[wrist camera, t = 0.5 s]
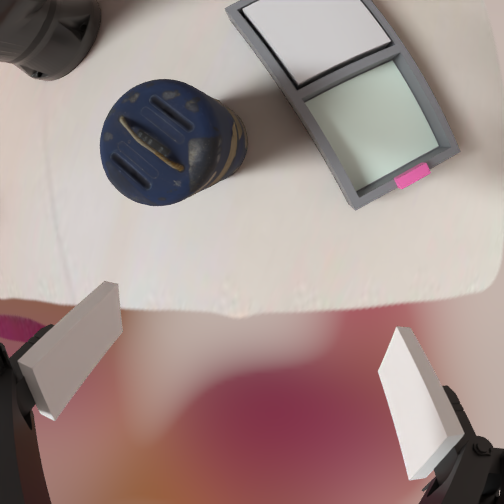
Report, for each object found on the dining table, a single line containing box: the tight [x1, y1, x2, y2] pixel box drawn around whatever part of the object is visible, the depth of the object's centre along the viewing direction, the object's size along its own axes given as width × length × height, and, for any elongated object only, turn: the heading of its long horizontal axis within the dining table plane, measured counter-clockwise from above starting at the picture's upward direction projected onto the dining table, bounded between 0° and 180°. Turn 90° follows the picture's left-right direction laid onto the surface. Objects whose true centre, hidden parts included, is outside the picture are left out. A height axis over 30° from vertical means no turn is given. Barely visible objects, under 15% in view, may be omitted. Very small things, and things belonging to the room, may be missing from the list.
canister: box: [100, 79, 248, 206], centre depth 27 cm, size 10×10×18 cm
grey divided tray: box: [225, 0, 461, 210], centre depth 28 cm, size 27×15×5 cm, turn 32°
